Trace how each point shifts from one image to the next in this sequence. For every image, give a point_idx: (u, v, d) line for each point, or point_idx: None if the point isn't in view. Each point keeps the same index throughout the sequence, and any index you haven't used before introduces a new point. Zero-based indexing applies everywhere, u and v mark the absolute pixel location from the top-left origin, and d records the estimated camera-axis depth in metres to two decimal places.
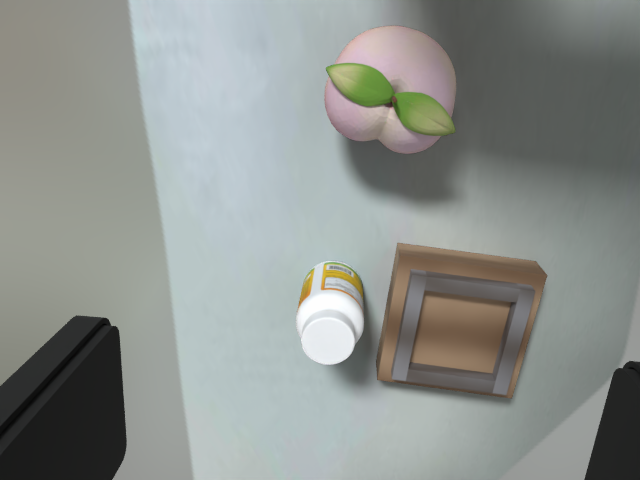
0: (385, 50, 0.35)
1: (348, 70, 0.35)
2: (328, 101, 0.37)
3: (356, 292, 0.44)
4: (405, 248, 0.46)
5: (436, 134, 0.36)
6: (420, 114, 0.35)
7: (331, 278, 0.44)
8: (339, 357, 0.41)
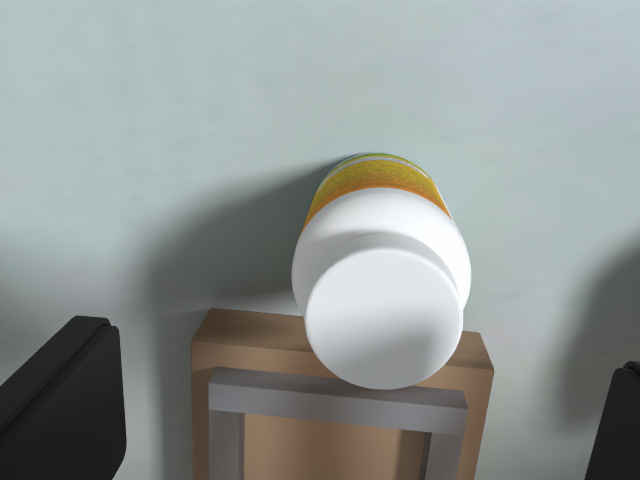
0: None
1: None
2: None
3: None
4: None
5: None
6: None
7: None
8: (333, 354, 0.14)
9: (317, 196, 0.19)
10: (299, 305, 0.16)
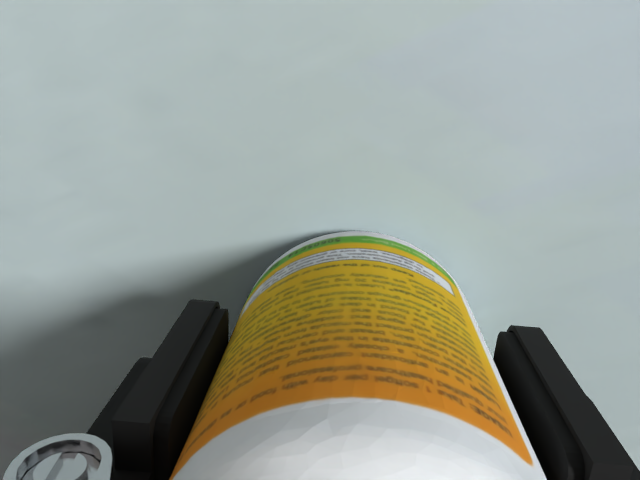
0: None
1: None
2: None
3: None
4: None
5: None
6: None
7: None
8: None
9: (233, 340, 0.10)
10: None
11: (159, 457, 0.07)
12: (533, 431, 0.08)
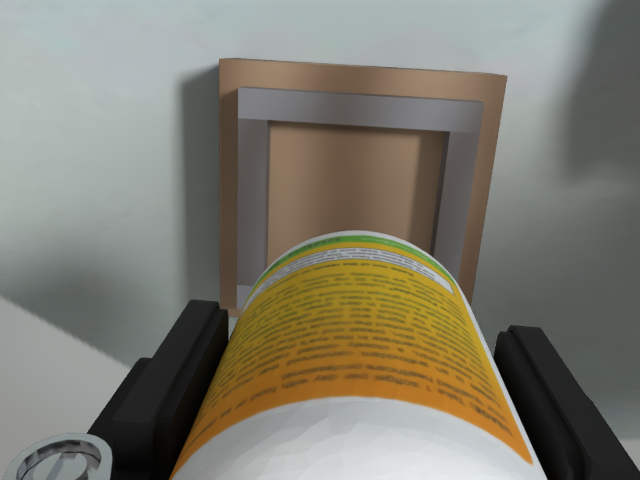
0: None
1: None
2: None
3: None
4: None
5: None
6: None
7: None
8: None
9: (233, 339, 0.10)
10: None
11: (159, 457, 0.07)
12: (533, 431, 0.08)
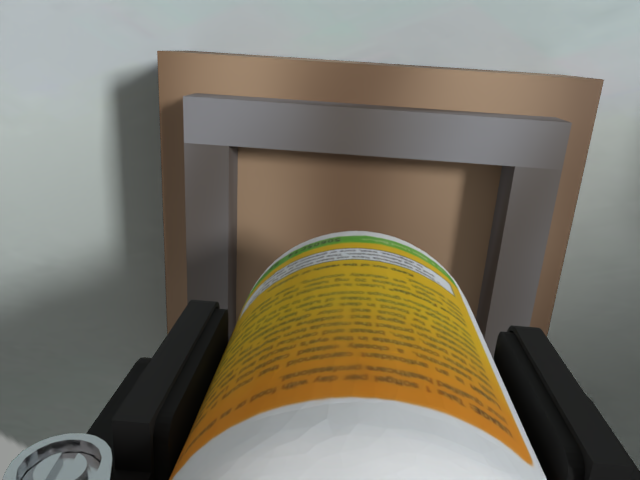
0: None
1: None
2: None
3: None
4: None
5: None
6: None
7: None
8: None
9: (233, 340, 0.10)
10: None
11: (159, 457, 0.07)
12: (533, 431, 0.08)
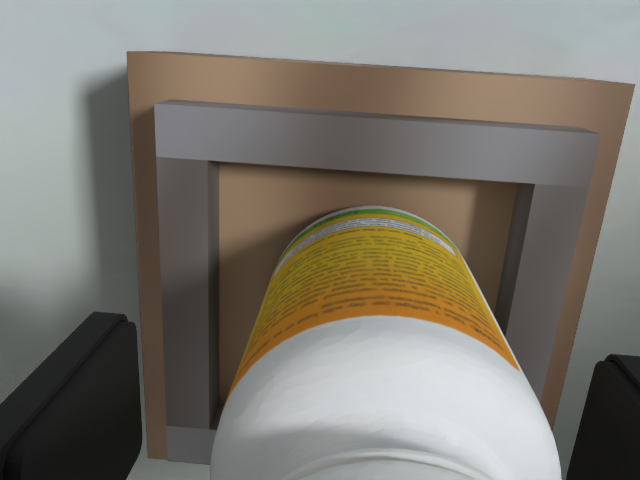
0: None
1: None
2: None
3: None
4: None
5: None
6: None
7: None
8: None
9: (271, 292, 0.11)
10: None
11: None
12: None
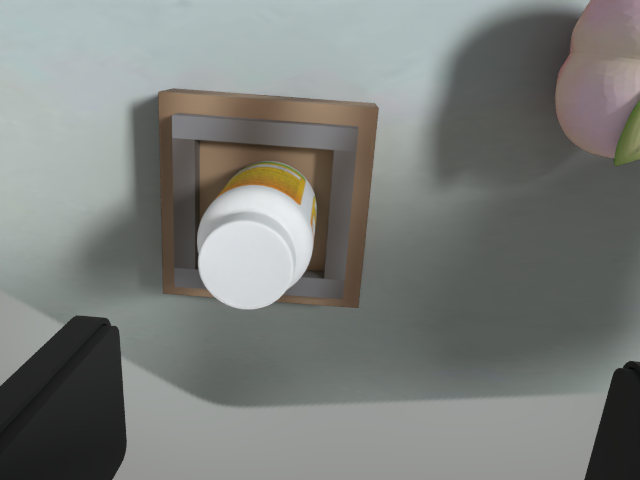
0: None
1: None
2: None
3: None
4: None
5: (624, 139, 0.25)
6: None
7: (314, 225, 0.28)
8: (216, 287, 0.23)
9: None
10: None
11: None
12: None
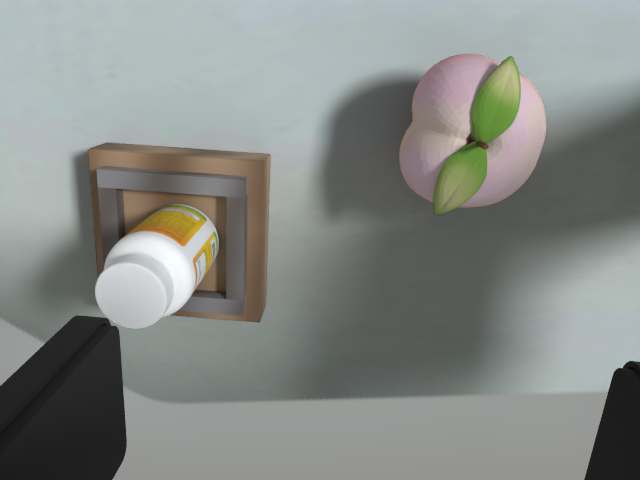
0: (531, 128, 0.30)
1: (513, 85, 0.29)
2: (466, 61, 0.31)
3: None
4: (267, 165, 0.39)
5: (436, 195, 0.31)
6: (462, 176, 0.30)
7: (204, 259, 0.35)
8: (110, 311, 0.30)
9: None
10: None
11: None
12: None
